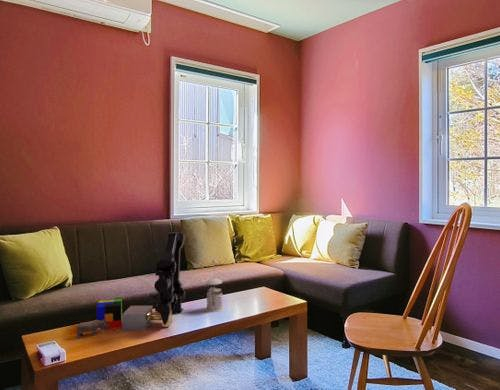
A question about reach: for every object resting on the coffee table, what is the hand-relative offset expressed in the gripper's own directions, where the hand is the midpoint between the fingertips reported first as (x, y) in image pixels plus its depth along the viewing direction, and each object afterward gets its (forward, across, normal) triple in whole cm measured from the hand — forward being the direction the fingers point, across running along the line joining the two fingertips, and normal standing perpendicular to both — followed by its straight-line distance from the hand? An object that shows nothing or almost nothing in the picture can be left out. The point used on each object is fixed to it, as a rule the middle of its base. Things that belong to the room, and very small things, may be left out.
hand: (167, 321), depth 176 cm
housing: (+2, 0, -13) cm, 13 cm away
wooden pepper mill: (+1, 0, -7) cm, 7 cm away
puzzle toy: (+2, -1, -26) cm, 26 cm away
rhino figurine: (+2, +10, -29) cm, 31 cm away
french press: (+2, -22, +19) cm, 29 cm away
